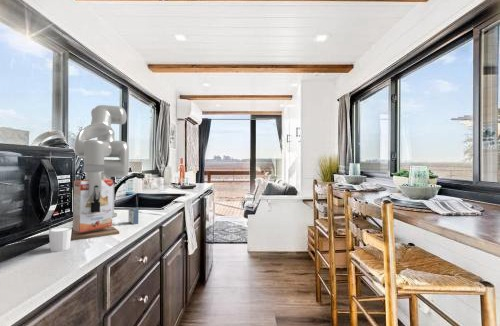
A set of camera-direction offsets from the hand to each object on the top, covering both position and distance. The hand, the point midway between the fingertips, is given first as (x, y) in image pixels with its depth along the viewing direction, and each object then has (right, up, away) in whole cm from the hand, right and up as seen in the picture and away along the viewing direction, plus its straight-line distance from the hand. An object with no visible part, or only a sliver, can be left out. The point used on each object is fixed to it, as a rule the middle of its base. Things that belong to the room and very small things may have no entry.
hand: (93, 210), depth 119 cm
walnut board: (0, -10, 0) cm, 10 cm away
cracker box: (0, -8, 0) cm, 8 cm away
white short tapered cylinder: (-1, -11, -20) cm, 22 cm away
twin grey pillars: (-1, -10, +15) cm, 18 cm away
